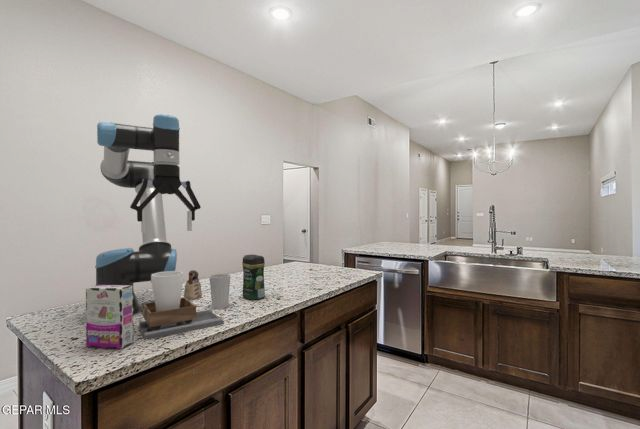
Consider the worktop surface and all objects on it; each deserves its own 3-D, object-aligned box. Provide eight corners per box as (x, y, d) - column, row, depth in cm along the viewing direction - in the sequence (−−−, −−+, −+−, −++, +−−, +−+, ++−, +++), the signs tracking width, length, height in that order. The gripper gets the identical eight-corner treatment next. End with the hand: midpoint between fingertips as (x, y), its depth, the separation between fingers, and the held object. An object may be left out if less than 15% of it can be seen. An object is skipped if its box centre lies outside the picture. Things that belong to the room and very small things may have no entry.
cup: (224, 309, 124) (224, 278, 124) (205, 308, 125) (205, 277, 125) (234, 303, 132) (234, 274, 132) (216, 303, 133) (215, 273, 133)
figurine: (204, 295, 145) (204, 268, 145) (197, 300, 138) (196, 271, 138) (189, 295, 146) (189, 268, 146) (181, 299, 139) (180, 271, 139)
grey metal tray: (138, 326, 106) (138, 321, 106) (210, 313, 119) (210, 308, 119) (145, 340, 94) (145, 333, 94) (223, 323, 108) (223, 318, 108)
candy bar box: (134, 342, 93) (134, 284, 93) (121, 349, 88) (121, 288, 88) (100, 340, 95) (99, 283, 94) (85, 347, 90) (84, 287, 90)
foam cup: (162, 321, 98) (162, 277, 98) (145, 315, 103) (145, 274, 103) (190, 312, 106) (189, 272, 106) (172, 308, 111) (172, 270, 111)
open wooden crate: (142, 319, 106) (142, 303, 106) (185, 312, 114) (185, 297, 114) (149, 331, 95) (149, 313, 95) (196, 322, 103) (196, 305, 103)
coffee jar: (239, 297, 142) (239, 254, 141) (254, 294, 147) (254, 253, 147) (252, 301, 135) (252, 256, 135) (267, 297, 141) (267, 254, 141)
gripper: (122, 159, 94) (122, 233, 94) (209, 166, 109) (210, 230, 109) (119, 163, 100) (120, 232, 100) (203, 169, 115) (203, 229, 115)
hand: (167, 231), depth 104 cm, fingers open, 13 cm apart
